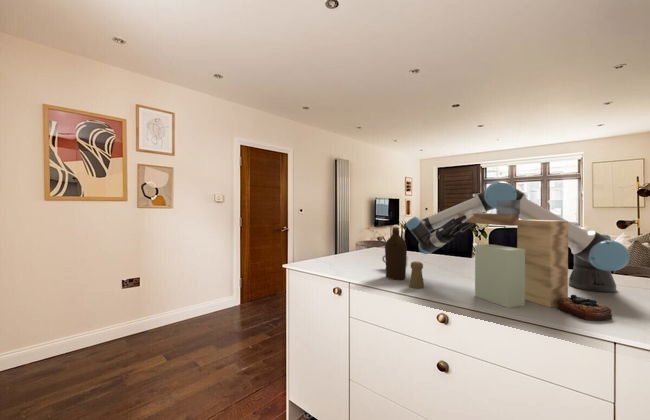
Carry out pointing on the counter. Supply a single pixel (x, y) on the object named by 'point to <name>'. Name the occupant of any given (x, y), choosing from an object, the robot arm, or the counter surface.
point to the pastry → (584, 308)
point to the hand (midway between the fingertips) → (476, 212)
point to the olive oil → (395, 256)
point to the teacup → (385, 261)
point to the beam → (499, 214)
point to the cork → (416, 275)
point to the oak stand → (544, 260)
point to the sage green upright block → (500, 274)
